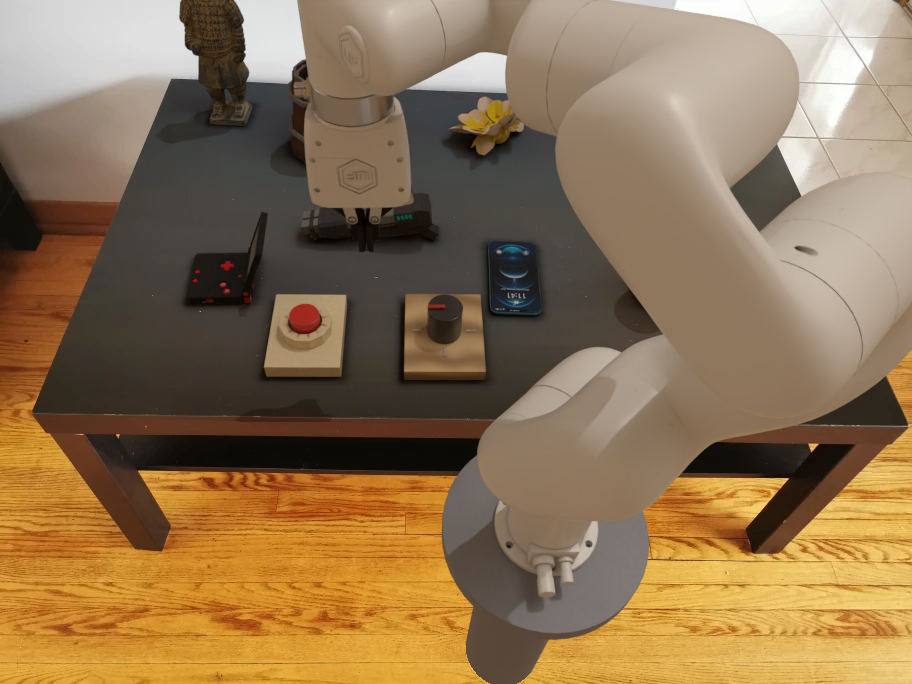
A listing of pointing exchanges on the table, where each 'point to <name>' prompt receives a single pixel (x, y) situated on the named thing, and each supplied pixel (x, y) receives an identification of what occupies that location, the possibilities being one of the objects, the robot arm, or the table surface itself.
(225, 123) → the statue
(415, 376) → the dial panel
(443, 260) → the table surface
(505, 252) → the smartphone
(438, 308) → the dial
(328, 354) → the block
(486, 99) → the decorative flower
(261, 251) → the handheld gaming console
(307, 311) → the press button
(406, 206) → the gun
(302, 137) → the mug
